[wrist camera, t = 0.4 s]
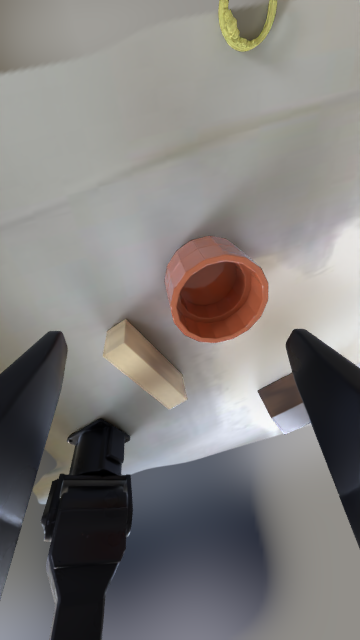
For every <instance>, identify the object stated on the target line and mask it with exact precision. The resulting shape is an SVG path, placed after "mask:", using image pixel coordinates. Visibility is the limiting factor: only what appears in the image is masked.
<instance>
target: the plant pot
mask: <svg viewBox="0 0 360 640" xmlns="http://www.w3.org/2000/svg"><path fill="white" fill-rule="evenodd" d="M165 286H166V290H167V295H168V299H169V304H170V308H171V312H172V316H173V320H174V323H175V325H176V326H177V327H178V328H179V329H180V330H181V331H182V333H183V334H184V335H186V336H188V337H190V338H192V339H194V340H196V341H199V342H209V343H218V342H222V341H226V340H230V339H234V338H235V337H237V336H239V335H241V334H242V333H244V332H246V331H247V330H248V329H250V328H251V327H252V326H253V325H254V323H255V322H256V321H257V320H258V319H259V318H260V317H261V315H262V313H263V311H264V309H265V306H266V304H267V302H268V281H267V279H266V277H265V275H264V273H263V271H262V269H261V268H260V267H259V266H258V265H257V264H256V263H255V262H254V261H253V260H252V259H251V258H249V257H248V256H247V255H246V254H245V253H244V252H243V251H242V250H241V249H239V248H238V247H237V246H236V245H234V244H233V243H231V242H230V241H229V240H227V239H225V238H220V237H214V236H206V237H202V238H198V239H194V240H191V241H189V242H188V243H187V244H185V245H184V246H182V247H181V248H180V249H178V250H177V251H176V253H175V254H174V256H173V257H172V259H171V260H170V262H169V263H168V266H167V270H166V275H165Z"/></svg>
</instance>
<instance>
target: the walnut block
mask: <svg viewBox="0 0 360 640" xmlns="http://www.w3.org/2000/svg"><path fill="white" fill-rule="evenodd" d="M258 393H259V395H260V397H261V399H262V401H263V403H264V405H265V407H266V409H267V411H268V413H269V414H270V416H271V418H272V419H273V421H274V422H275V423H276V425H277V426H278V427H279V428H280V430H281V431H282V432H283V433H284V435H285V434H287V433H290V432H292V431H294V430H296V429H298V428H300V427H302V426H305V425H307V424H309V423H311V422H310V419H309V416H308V414H307V411H306V409H305V406H304V403H303V401H302V398H301V396H300V393H299V391H298V388H297V385H296V383H295V380H294V376H293V373H291V374H289V375H287V376H285V377H283V378H281V379H280V380H278V381H276V382H274V383H272V384H270V385H268V386H266V387H264V388H262V389H260V390H258Z"/></svg>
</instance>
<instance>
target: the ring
mask: <svg viewBox="0 0 360 640" xmlns="http://www.w3.org/2000/svg"><path fill="white" fill-rule="evenodd" d="M228 3H229V0H219V13H218V14H219V23H220V28H221V31H222V33H223V35H224V38H225V39H226V41H227V43H228V44H229V45H230V46H231V47H232V48H233V49H235V50H238V51H242V52H243V51H248V50H251V49H253V48H254V47H256V46H257V45H259V44H260V43H261V42H262V41H263V40H264V39H265V37H266V36H267V34H268V33H269V31H270V29H271V26H272V24H273V21H274V17H275V13H276V7H277V0H269V6H268V14H267V19H266V22H265V25H264V28H263V30H262V32H261V33H260V35H259V36H258V37H257V38H256V39H253V40H251V41H249V40H247V39H245V38H241V37H239V34H240V32H239V30H238V28H237V23H236V22H237V19H235V18H234V17H233V16H232V13H231V10H228Z"/></svg>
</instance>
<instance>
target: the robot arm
mask: <svg viewBox="0 0 360 640" xmlns="http://www.w3.org/2000/svg"><path fill="white" fill-rule="evenodd" d="M286 350H287V354H288V358H289V361H290V365H291V369H292V373H293V376H294V380H295V383H296V385H297V388H298V391H299V393H300V396H301V398H302V401H303V403H304V406H305V409H306V411H307V414H308V416H309V419H310V422H311V424H312V427H313V429H314V432H315V434H316V437H317V440H318V442H319V445H320V447H321V450H322V453H323V455H324V458H325V460H326V463H327V465H328V468H329V471H330V473H331V476H332V478H333V481H334V483H335V486H336V489H337V491H338V494H339V497H340V499H341V502H342V505H343V507H344V510H345V512H346V515H347V517H348V520H349V523H350V525H351V528H352V530H353V533H354V535H355V538H356V540H357V543H358V545H359V548H360V368H359V367H357V366H356V365H355V364H353V363H352V362H350V361H349V360H348V359H346V358H345V357H343V356H342V355H341V354H339V353H338V352H336V351H335V350H334V349H332V348H331V347H329V346H328V345H327V344H325V343H324V342H322V341H321V340H319V339H318V338H317V337H315V336H314V335H312V334H311V333H310V332H308V331H307V330H305V329H294V330H293V331H292V333H291V334H290V336H289V338H288V340H287V342H286ZM67 351H68V348H67V344H66V341H65V338H64V335H63V333H62V332H61V331H49V332H48V333H46V334H45V335H44V336H43V337H42V338H41V339H40V340H39V341H37V342H36V343H35V344H34V345H33V346H32V347H31V348H29V349H28V350H27V351H26V352H25V353H24V354H23V355H22V356H20V357H19V358H18V359H17V360H16V361H15V362H14V363H12V364H11V365H10V366H9V367H8V368H7V369H6V370H5V371H3V372H2V373H1V374H0V599H1V595H2V592H3V589H4V585H5V582H6V578H7V575H8V571H9V568H10V565H11V561H12V558H13V554H14V551H15V547H16V544H17V541H18V537H19V534H20V530H21V527H22V525H21V524H22V522H23V519H24V516H25V512H26V509H27V506H28V502H29V499H30V495H31V492H32V489H33V485H34V482H35V478H36V474H37V471H38V468H39V464H40V461H41V457H42V454H43V451H44V447H45V444H46V440H47V437H48V434H49V430H50V427H51V423H52V420H53V416H54V413H55V410H56V406H57V403H58V399H59V396H60V392H61V388H62V383H63V376H64V370H65V364H66V358H67ZM128 441H130V436H129V435H127V434H126V433H124V432H122V431H121V430H119V429H118V428H116V427H114V426H113V425H111V424H109V423H108V422H106V421H105V420H103V419H99V420H97V421H95V422H93V423H92V424H90V425H88V426H86V427H85V428H83V429H81V430H80V431H78V432H76V433H74V434H73V435H71V436H69V437H68V439H67V442H68V443H70V444H72V445H74V446H75V449H74V454H73V459H72V463H71V468H70V473H69V475H65V474H60V476H59V479H57V480H55V481H52V485H51V489H50V493H49V496H48V500H47V503H46V506H45V510H44V513H43V516H42V519H41V524H42V526H43V528H44V533H45V538H44V542H49V541H51V545H50V549H49V554H48V560H47V565H46V571H47V575H48V579H49V582H50V586H51V591H52V594H53V598H54V602H55V611H54V616H53V622H52V627H51V633H50V638H49V640H102V629H103V618H104V605H105V594H106V591H107V589H108V586H109V584H110V582H111V580H112V578H113V576H114V574H115V572H116V569H117V567H118V565H119V563H120V561H121V559H122V556H123V554H124V552H125V549H126V537H128V536H129V533H130V529H131V523H132V512H133V508H132V507H133V506H132V490H131V476H130V475H129V474H126V475H121V466H122V463H123V461H124V443H126V442H128ZM60 497H61V498H60Z"/></svg>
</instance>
